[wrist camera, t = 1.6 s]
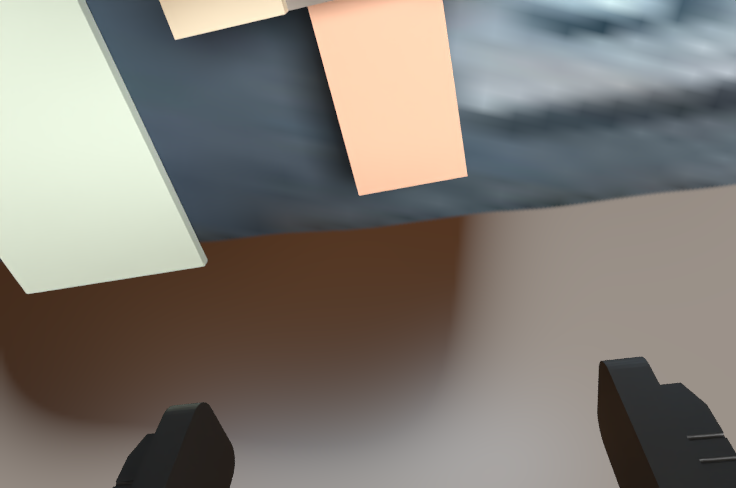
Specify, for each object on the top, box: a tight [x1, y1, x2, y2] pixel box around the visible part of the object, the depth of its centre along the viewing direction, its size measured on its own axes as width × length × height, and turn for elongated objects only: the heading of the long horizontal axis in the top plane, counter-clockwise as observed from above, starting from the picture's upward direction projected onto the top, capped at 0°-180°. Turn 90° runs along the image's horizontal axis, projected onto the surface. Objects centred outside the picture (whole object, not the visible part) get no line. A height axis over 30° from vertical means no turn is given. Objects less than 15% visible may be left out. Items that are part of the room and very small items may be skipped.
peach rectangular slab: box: [307, 0, 467, 196], centre depth 22 cm, size 13×5×4 cm, turn 13°
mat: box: [0, 0, 207, 294], centre depth 28 cm, size 16×12×1 cm
